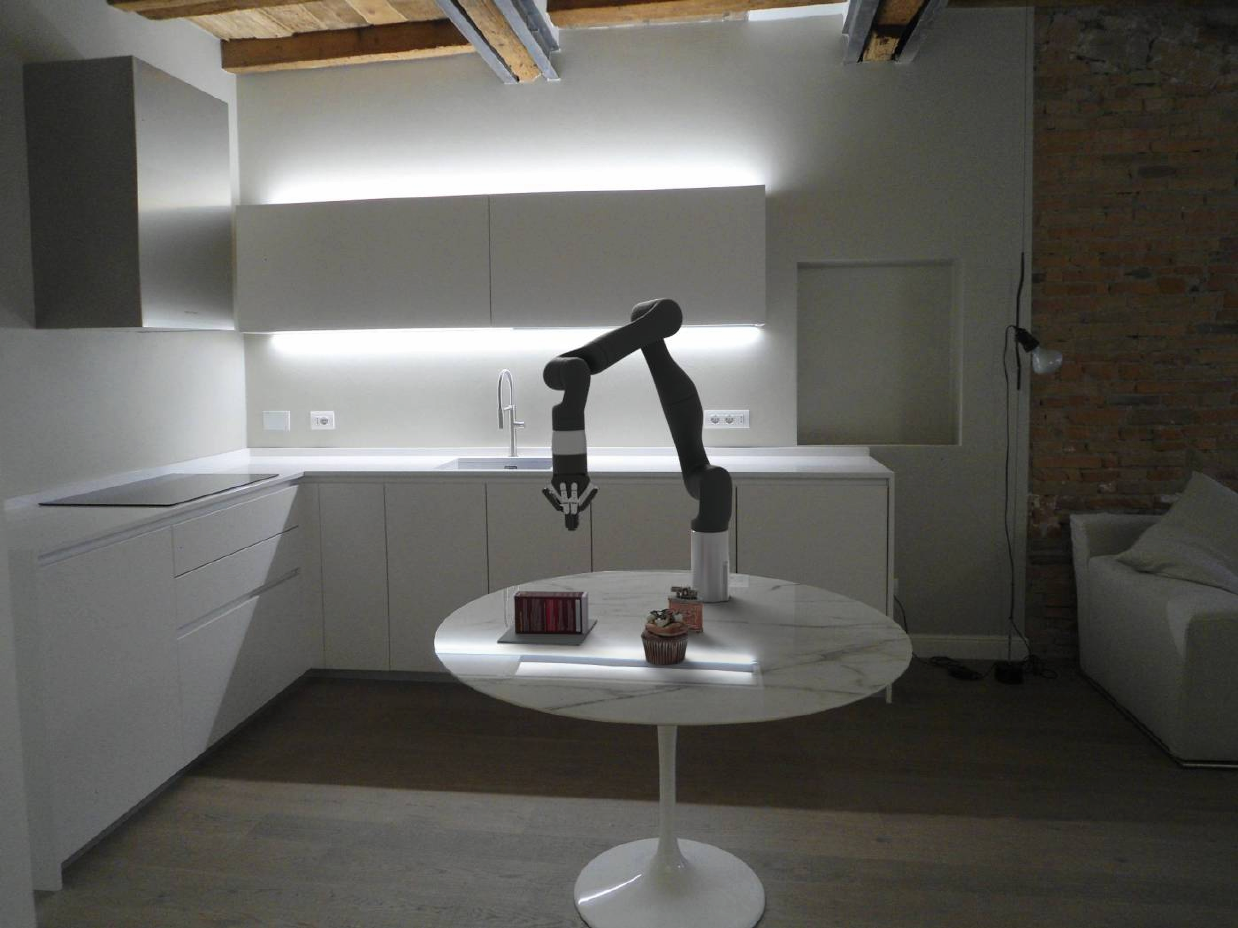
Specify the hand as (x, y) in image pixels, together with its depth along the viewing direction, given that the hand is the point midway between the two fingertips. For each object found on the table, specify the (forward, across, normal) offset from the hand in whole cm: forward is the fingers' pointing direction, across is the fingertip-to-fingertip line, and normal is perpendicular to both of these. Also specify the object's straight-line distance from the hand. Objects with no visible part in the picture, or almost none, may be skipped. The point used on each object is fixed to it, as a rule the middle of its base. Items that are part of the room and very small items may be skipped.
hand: (572, 530), depth 203 cm
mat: (+23, +6, 0) cm, 24 cm away
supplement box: (+18, -3, 0) cm, 19 cm away
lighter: (+23, -24, -4) cm, 34 cm away
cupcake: (+23, -22, +15) cm, 35 cm away
